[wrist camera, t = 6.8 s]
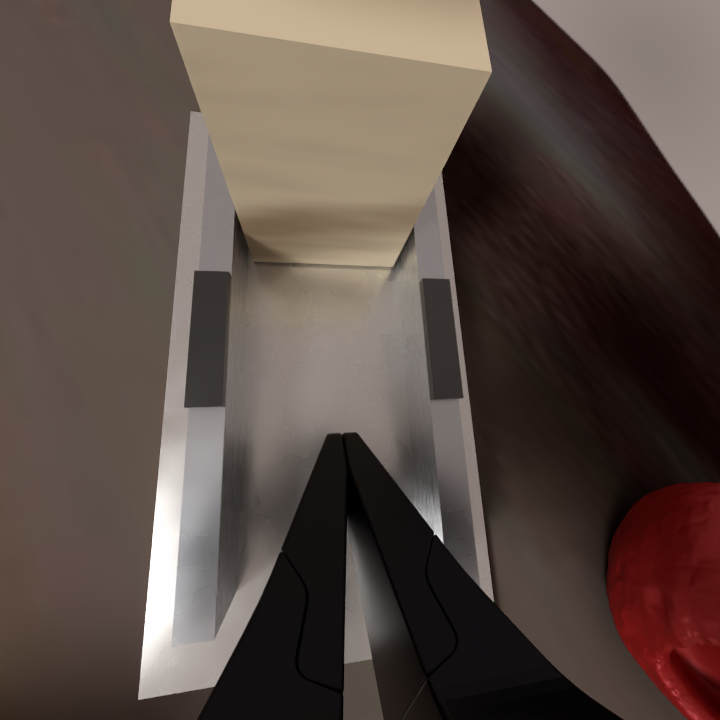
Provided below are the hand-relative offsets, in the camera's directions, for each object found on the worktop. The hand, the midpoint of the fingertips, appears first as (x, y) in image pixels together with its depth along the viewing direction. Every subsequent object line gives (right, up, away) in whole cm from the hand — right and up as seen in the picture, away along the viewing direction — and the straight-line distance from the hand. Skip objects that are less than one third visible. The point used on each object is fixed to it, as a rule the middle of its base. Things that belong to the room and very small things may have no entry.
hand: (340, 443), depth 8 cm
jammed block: (-1, +10, +7) cm, 13 cm away
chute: (-1, +3, +7) cm, 7 cm away
